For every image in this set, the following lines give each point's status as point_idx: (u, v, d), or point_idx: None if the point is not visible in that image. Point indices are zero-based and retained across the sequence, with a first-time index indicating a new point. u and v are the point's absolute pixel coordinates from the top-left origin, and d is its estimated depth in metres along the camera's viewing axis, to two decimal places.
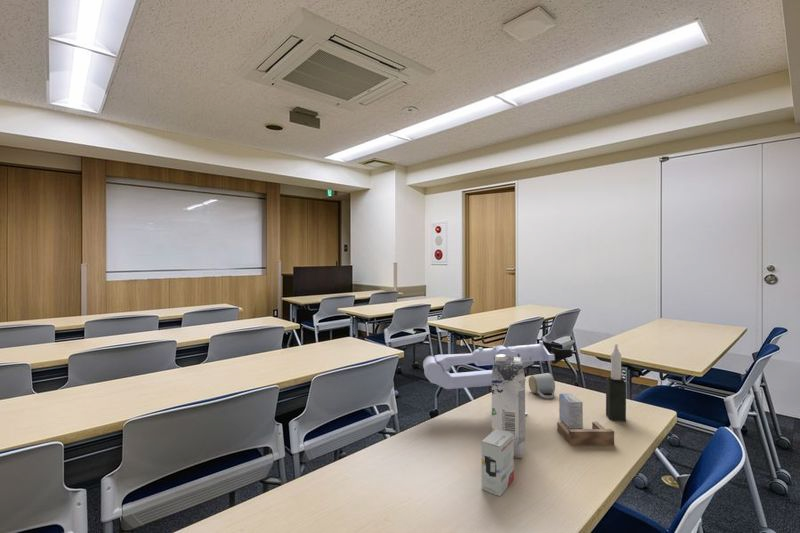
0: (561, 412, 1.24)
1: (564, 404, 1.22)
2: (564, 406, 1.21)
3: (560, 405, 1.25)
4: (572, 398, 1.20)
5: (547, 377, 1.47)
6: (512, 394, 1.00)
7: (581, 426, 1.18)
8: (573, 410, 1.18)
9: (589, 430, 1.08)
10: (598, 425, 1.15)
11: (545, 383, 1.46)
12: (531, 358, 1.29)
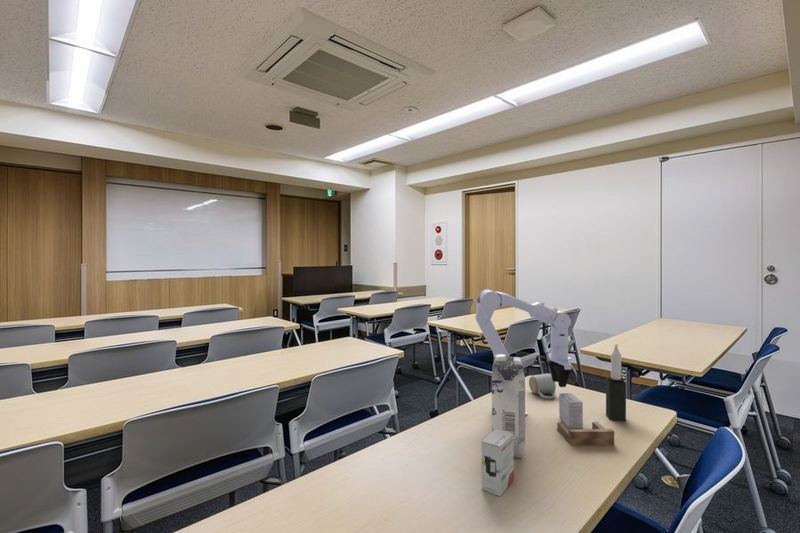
0: (561, 412, 1.24)
1: (564, 404, 1.22)
2: (564, 406, 1.21)
3: (560, 405, 1.25)
4: (572, 398, 1.20)
5: (547, 378, 1.46)
6: (512, 394, 1.00)
7: (581, 426, 1.18)
8: (573, 410, 1.18)
9: (589, 430, 1.08)
10: (598, 425, 1.15)
11: (545, 384, 1.45)
12: (558, 347, 1.28)
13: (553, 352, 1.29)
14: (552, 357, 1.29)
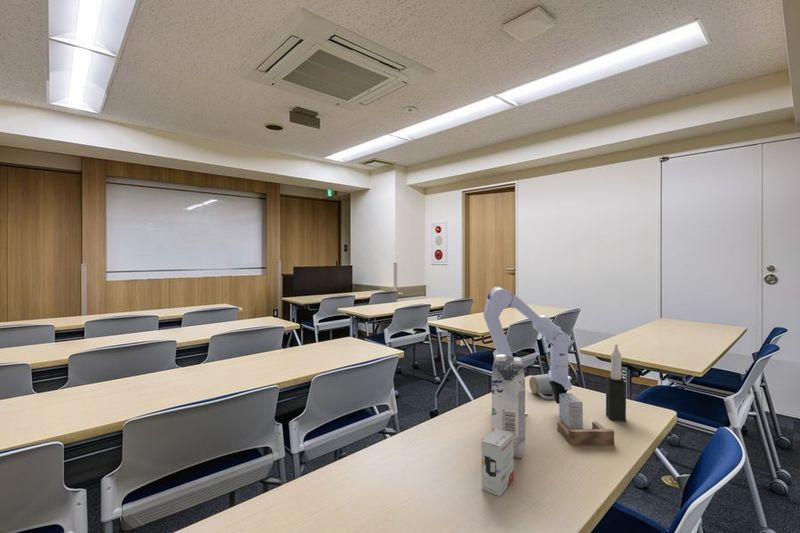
0: (561, 412, 1.24)
1: (564, 404, 1.22)
2: (564, 406, 1.21)
3: (560, 405, 1.25)
4: (572, 398, 1.20)
5: (548, 378, 1.46)
6: (512, 394, 1.00)
7: (581, 426, 1.18)
8: (573, 410, 1.18)
9: (589, 430, 1.08)
10: (598, 425, 1.15)
11: (546, 384, 1.45)
12: (558, 367, 1.28)
13: (553, 371, 1.29)
14: (552, 376, 1.30)
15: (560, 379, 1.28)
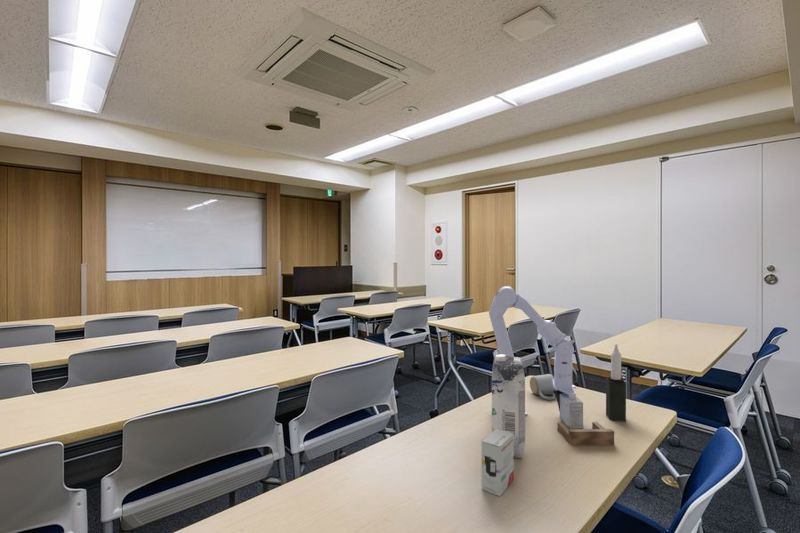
0: (561, 412, 1.24)
1: (564, 404, 1.21)
2: (564, 406, 1.21)
3: (560, 405, 1.24)
4: (572, 399, 1.20)
5: (548, 378, 1.46)
6: (512, 394, 1.00)
7: (581, 426, 1.18)
8: (574, 410, 1.18)
9: (589, 430, 1.08)
10: (598, 425, 1.15)
11: (546, 384, 1.44)
12: (562, 375, 1.25)
13: (557, 380, 1.26)
14: (556, 385, 1.27)
15: (564, 388, 1.25)
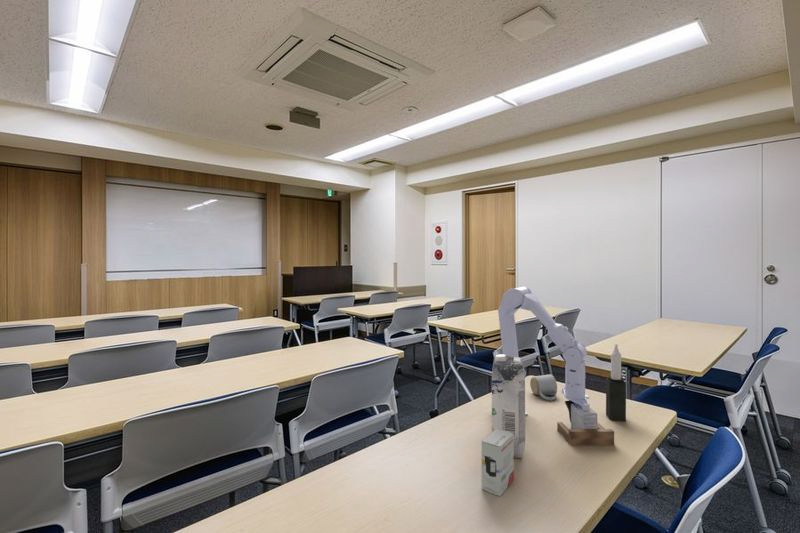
0: (573, 424, 1.15)
1: (577, 416, 1.13)
2: (577, 417, 1.13)
3: (572, 416, 1.16)
4: None
5: (549, 379, 1.45)
6: (512, 394, 1.00)
7: None
8: (588, 422, 1.09)
9: (589, 430, 1.08)
10: (598, 425, 1.15)
11: (547, 385, 1.44)
12: (575, 385, 1.16)
13: (569, 390, 1.17)
14: (567, 395, 1.18)
15: (576, 398, 1.16)
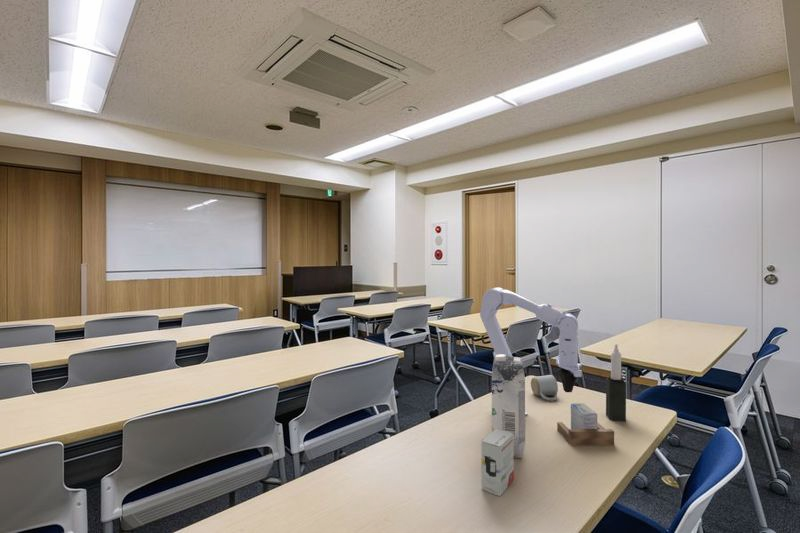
0: (573, 424, 1.15)
1: (576, 416, 1.13)
2: (577, 418, 1.13)
3: (572, 416, 1.16)
4: (585, 409, 1.12)
5: (549, 379, 1.45)
6: (512, 394, 1.00)
7: None
8: (587, 422, 1.09)
9: (589, 430, 1.08)
10: (598, 425, 1.15)
11: (548, 385, 1.43)
12: (568, 353, 1.21)
13: (562, 358, 1.22)
14: (561, 363, 1.22)
15: (569, 366, 1.21)
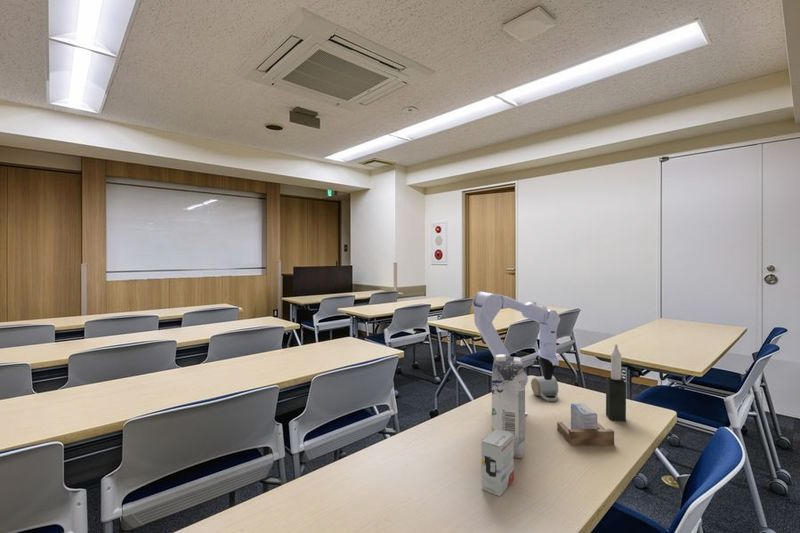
0: (573, 424, 1.15)
1: (576, 416, 1.13)
2: (577, 418, 1.13)
3: (572, 416, 1.16)
4: (585, 409, 1.12)
5: None
6: (512, 394, 1.00)
7: None
8: (587, 422, 1.09)
9: (589, 430, 1.08)
10: (598, 425, 1.15)
11: (548, 386, 1.43)
12: (547, 344, 1.33)
13: (542, 348, 1.34)
14: (541, 353, 1.34)
15: (548, 356, 1.33)
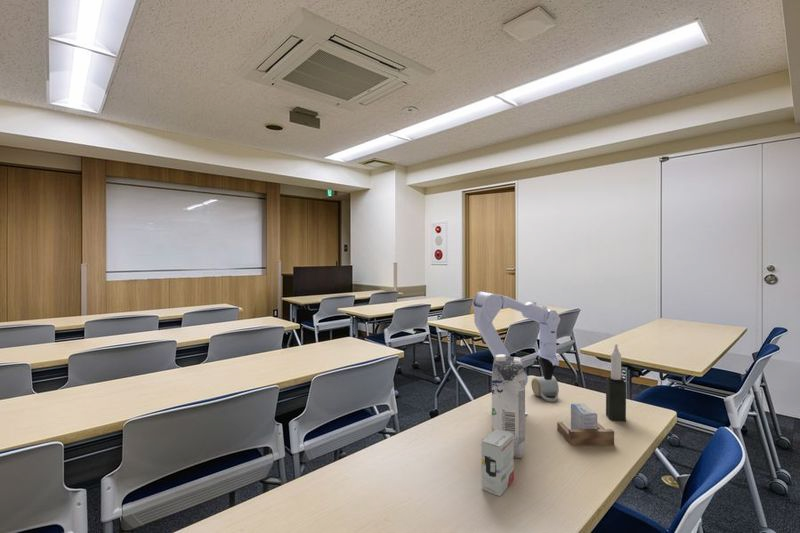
0: (573, 424, 1.15)
1: (576, 416, 1.13)
2: (577, 418, 1.13)
3: (572, 416, 1.16)
4: (585, 409, 1.12)
5: (550, 380, 1.44)
6: (512, 394, 1.00)
7: None
8: (587, 422, 1.09)
9: (589, 430, 1.08)
10: (598, 425, 1.15)
11: (548, 386, 1.43)
12: (547, 344, 1.33)
13: (542, 348, 1.34)
14: (541, 353, 1.34)
15: (548, 356, 1.33)
